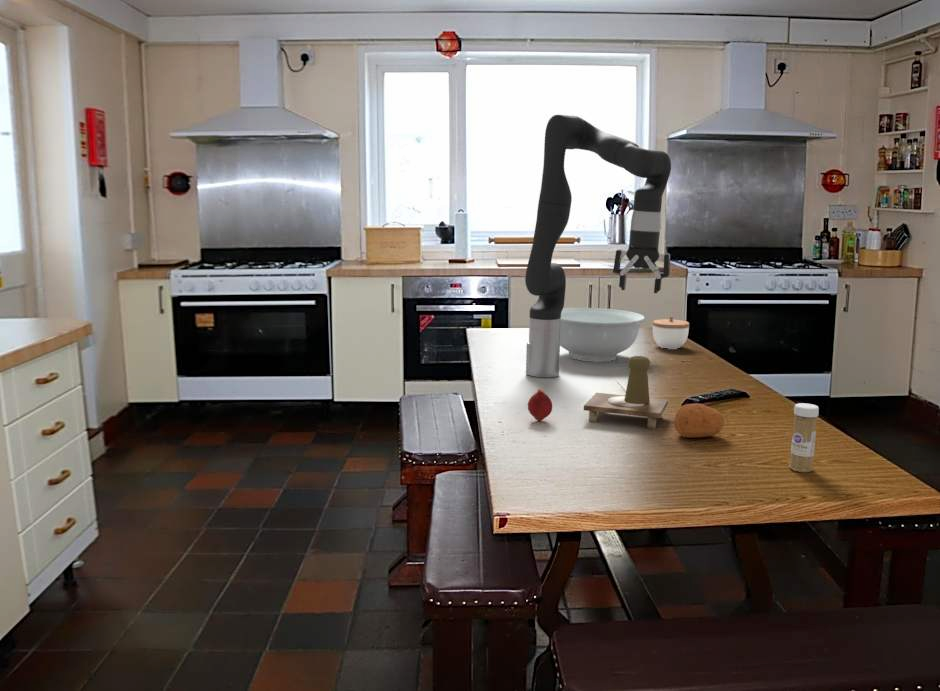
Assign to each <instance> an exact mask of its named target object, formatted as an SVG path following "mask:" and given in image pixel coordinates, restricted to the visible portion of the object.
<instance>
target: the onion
mask: <svg viewBox="0 0 940 691" xmlns="http://www.w3.org/2000/svg"><path fill="white" fill-rule="evenodd" d="M527 409H528V412H529V414H530V415H531V416H532V417H533V418H534V419H535V420H536V422H541V421H543V420H545V419H546V418H547V417H549V415H551V413H552V411H553V403H552V400H551V398H550V397H549V395H547V394H546V393H545V392H544V391H543V390H542V388H538V389H537V392H536V393H534V394H533V395H532V396H531V397H530V398H529V399H528V403H527Z"/></svg>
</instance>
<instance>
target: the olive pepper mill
mask: <svg viewBox="0 0 940 691" xmlns="http://www.w3.org/2000/svg"><path fill="white" fill-rule="evenodd" d="M650 366H651V361H650V359H649V358H648V357H647V356H643V355H634V356H631V357H630V358H629V359H628V362H627V367H628V368H629V374H628V379H627V384H626V390H625V394H624V395H625V401H626V402H628V403H632V404H647V403H649V402H650V400H649V398H650V391H649V390H650V389H649V388H650V387H649V378H648V377H649V376H648V370H649V369H650Z"/></svg>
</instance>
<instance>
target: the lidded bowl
mask: <svg viewBox="0 0 940 691" xmlns="http://www.w3.org/2000/svg"><path fill="white" fill-rule="evenodd" d="M689 330H690V322H689V321H686V320H682V319H674V316H672V315H671V316H669V318H666V319H665V318H662V319H655V320H653V321H652V335H653V336H652V337H653V340H654V342H655V343H656V345H657V346H659V348H660V347H661V348H660V349H663V348H668V349H667V350H678V349H677V348H680V349H681V347H682V346H683V345H684V344H685V343H686V341H687V339H688V336H689Z"/></svg>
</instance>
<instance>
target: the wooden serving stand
mask: <svg viewBox="0 0 940 691" xmlns="http://www.w3.org/2000/svg"><path fill="white" fill-rule="evenodd" d="M649 400H650V402H649V403H647V404H632V403H628V402H626V401H625V394H614V393H605V392H595V393H594V394H593V395H592V396H591V398H589V400H587V401H586V402H585V403H584V405H583V411H587V412H589V413H588V415H589V416H588V422H589V421H590V422H589V423H597V422H598V417H599V416H598V415H599V413H607V414H617V415H626V416H635V417H642V418H643V417H644V418H645V417H646V418H647V426H646V427H648V428H647V429H650V428H652V429H653V430H655V429H657V419H662V418H663V413H664V412H665V410H666V408H667V407H668V406H669V399H665V398H657V397H656V398H655V397H649ZM652 429H651V430H652Z"/></svg>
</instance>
